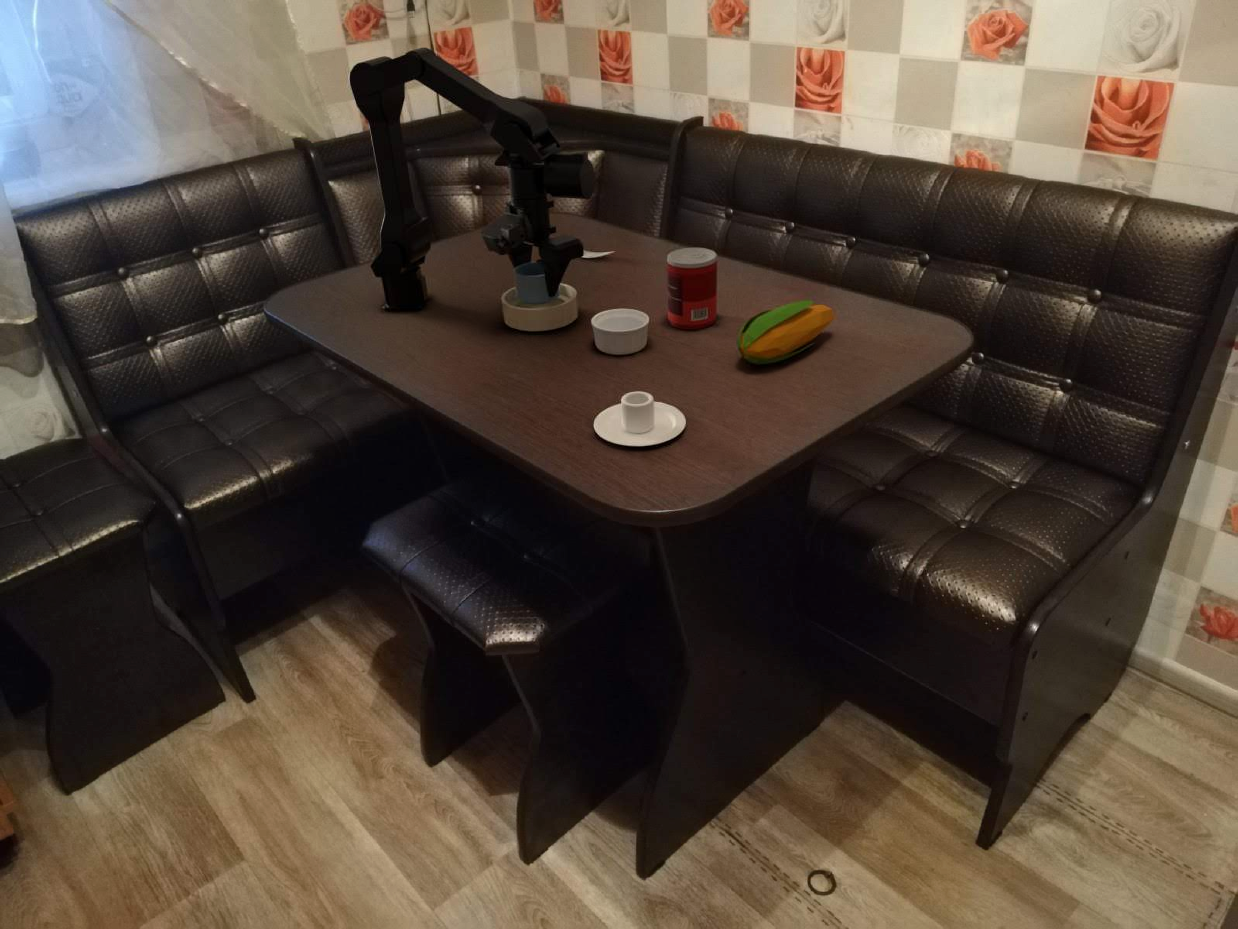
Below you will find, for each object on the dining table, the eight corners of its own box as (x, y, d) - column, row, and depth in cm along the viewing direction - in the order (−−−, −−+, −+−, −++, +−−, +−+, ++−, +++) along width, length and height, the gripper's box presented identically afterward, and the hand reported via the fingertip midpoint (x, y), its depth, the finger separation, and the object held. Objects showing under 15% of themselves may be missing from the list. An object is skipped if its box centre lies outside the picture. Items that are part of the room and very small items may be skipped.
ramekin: (621, 328, 148) (620, 303, 146) (661, 343, 143) (661, 317, 140) (580, 346, 143) (579, 320, 141) (621, 362, 138) (619, 335, 135)
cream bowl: (498, 334, 149) (495, 310, 146) (510, 305, 159) (508, 282, 157) (574, 333, 148) (572, 308, 145) (581, 304, 158) (580, 280, 156)
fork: (530, 237, 191) (529, 228, 190) (616, 259, 177) (616, 250, 176) (518, 241, 189) (517, 232, 188) (605, 264, 175) (604, 255, 174)
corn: (724, 315, 131) (814, 278, 142) (721, 362, 135) (808, 323, 146) (763, 333, 127) (853, 293, 137) (758, 381, 131) (846, 339, 142)
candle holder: (675, 401, 126) (674, 372, 124) (695, 444, 116) (695, 414, 114) (588, 411, 125) (586, 382, 123) (601, 456, 115) (599, 425, 112)
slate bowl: (514, 306, 149) (510, 276, 146) (520, 290, 155) (517, 261, 152) (557, 305, 148) (555, 275, 145) (562, 289, 154) (560, 260, 151)
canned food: (724, 316, 151) (725, 250, 145) (701, 334, 145) (701, 266, 139) (683, 308, 154) (682, 244, 149) (659, 325, 149) (657, 259, 143)
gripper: (452, 195, 144) (465, 290, 152) (522, 218, 132) (533, 320, 140) (509, 180, 150) (519, 272, 158) (582, 201, 138) (589, 299, 146)
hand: (538, 290), depth 151 cm, fingers closed on slate bowl, 7 cm apart
